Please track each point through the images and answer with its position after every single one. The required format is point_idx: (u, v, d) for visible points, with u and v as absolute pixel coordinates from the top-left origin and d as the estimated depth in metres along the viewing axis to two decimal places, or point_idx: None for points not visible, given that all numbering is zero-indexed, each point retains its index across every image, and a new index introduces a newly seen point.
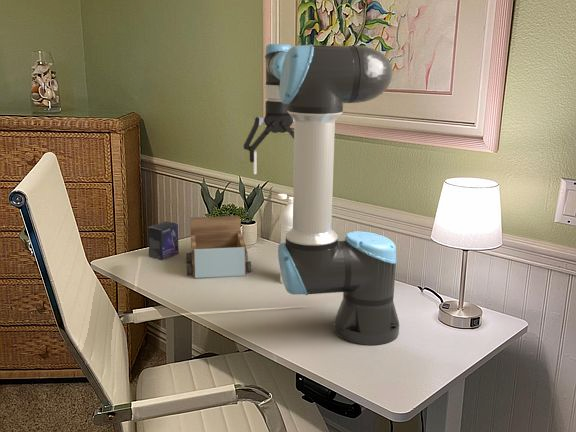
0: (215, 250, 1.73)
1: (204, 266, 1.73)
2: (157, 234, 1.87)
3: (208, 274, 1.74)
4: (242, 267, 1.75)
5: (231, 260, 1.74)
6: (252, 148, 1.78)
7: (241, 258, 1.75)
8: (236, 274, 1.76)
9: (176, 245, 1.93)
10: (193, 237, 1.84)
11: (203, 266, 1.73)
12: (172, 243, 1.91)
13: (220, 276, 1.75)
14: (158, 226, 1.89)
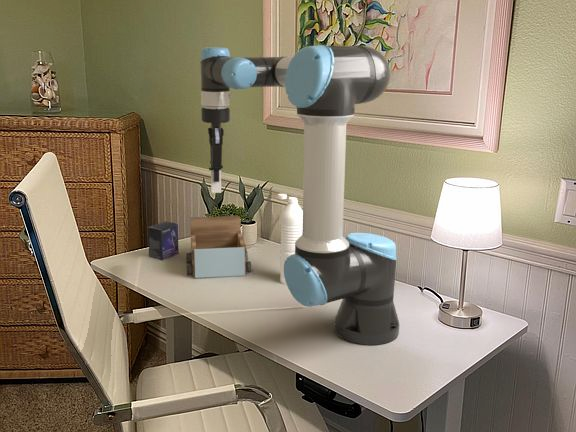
0: (215, 250, 1.73)
1: (204, 266, 1.73)
2: (157, 234, 1.87)
3: (208, 274, 1.74)
4: (242, 267, 1.75)
5: (231, 260, 1.74)
6: (211, 164, 1.72)
7: (241, 258, 1.75)
8: (236, 274, 1.76)
9: (176, 245, 1.93)
10: (193, 237, 1.84)
11: (203, 266, 1.73)
12: (172, 243, 1.91)
13: (220, 276, 1.75)
14: (158, 226, 1.89)
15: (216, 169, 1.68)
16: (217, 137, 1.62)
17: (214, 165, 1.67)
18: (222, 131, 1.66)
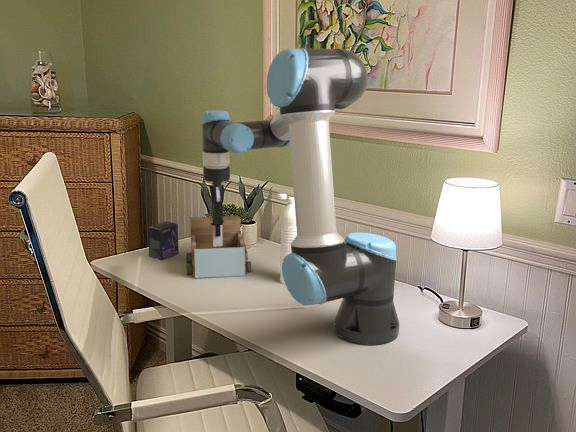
0: (215, 250, 1.73)
1: (204, 266, 1.73)
2: (157, 234, 1.87)
3: (208, 274, 1.74)
4: (242, 267, 1.75)
5: (231, 260, 1.74)
6: None
7: (241, 258, 1.75)
8: (236, 274, 1.76)
9: (176, 245, 1.93)
10: (193, 237, 1.84)
11: (203, 266, 1.73)
12: (172, 243, 1.91)
13: (220, 276, 1.75)
14: (158, 226, 1.89)
15: (217, 225, 1.76)
16: (218, 196, 1.70)
17: (215, 221, 1.75)
18: (223, 189, 1.75)
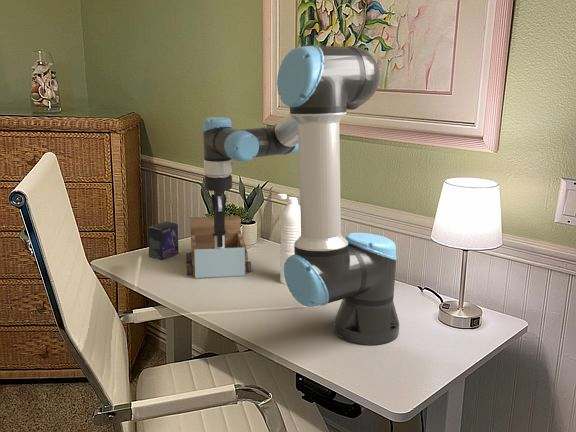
0: (215, 250, 1.73)
1: (204, 266, 1.73)
2: (157, 234, 1.87)
3: (208, 274, 1.74)
4: (242, 267, 1.75)
5: (231, 260, 1.74)
6: None
7: (241, 258, 1.74)
8: (236, 274, 1.76)
9: (176, 245, 1.93)
10: (193, 237, 1.84)
11: (203, 266, 1.73)
12: (172, 243, 1.91)
13: (220, 276, 1.75)
14: (158, 226, 1.89)
15: (219, 235, 1.71)
16: (220, 205, 1.65)
17: (217, 232, 1.69)
18: (225, 198, 1.69)
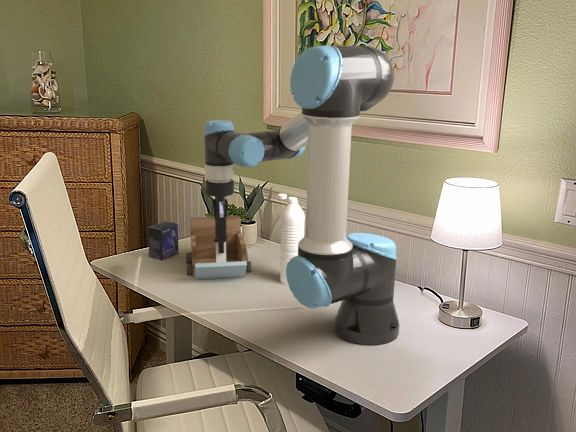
0: (216, 266, 1.68)
1: (204, 274, 1.72)
2: (157, 234, 1.87)
3: (208, 277, 1.74)
4: (242, 273, 1.74)
5: (232, 270, 1.72)
6: None
7: (242, 269, 1.72)
8: (236, 276, 1.75)
9: (176, 245, 1.93)
10: (193, 237, 1.84)
11: (203, 274, 1.71)
12: (172, 243, 1.91)
13: None
14: (158, 226, 1.89)
15: (221, 241, 1.66)
16: (221, 212, 1.60)
17: (218, 238, 1.64)
18: (226, 204, 1.64)
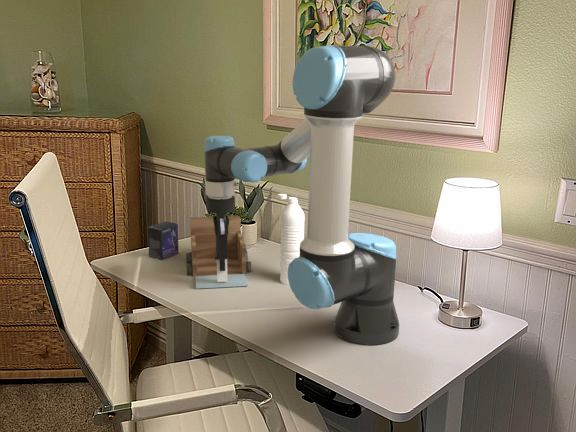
0: (217, 286, 1.68)
1: None
2: (157, 234, 1.87)
3: None
4: None
5: None
6: None
7: None
8: None
9: (176, 245, 1.93)
10: (193, 237, 1.84)
11: None
12: (172, 243, 1.91)
13: None
14: (158, 226, 1.89)
15: (222, 259, 1.63)
16: (222, 228, 1.57)
17: (220, 255, 1.62)
18: (227, 220, 1.61)
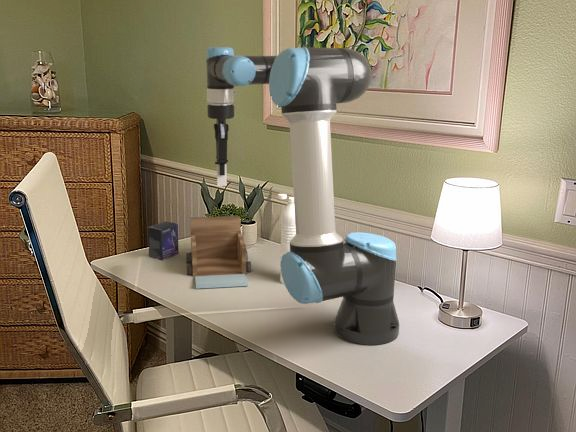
0: None
1: None
2: (157, 234, 1.87)
3: None
4: None
5: None
6: None
7: None
8: None
9: (176, 245, 1.93)
10: (193, 237, 1.84)
11: None
12: (172, 243, 1.91)
13: None
14: (158, 226, 1.89)
15: (222, 163, 1.76)
16: (222, 132, 1.71)
17: (220, 159, 1.75)
18: (227, 127, 1.75)
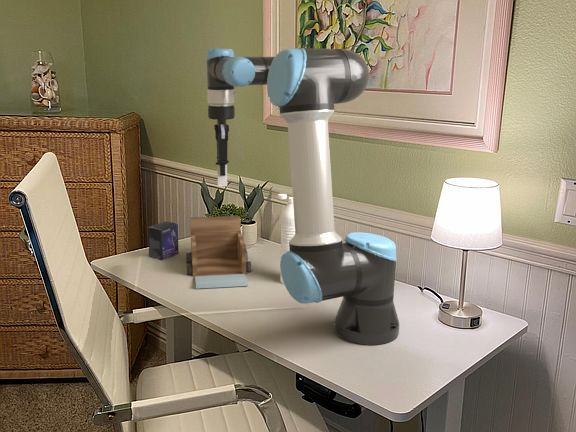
0: None
1: None
2: (157, 234, 1.87)
3: None
4: None
5: None
6: (217, 159, 1.81)
7: None
8: None
9: (176, 245, 1.93)
10: (193, 237, 1.84)
11: None
12: (172, 243, 1.91)
13: None
14: (158, 226, 1.89)
15: (222, 163, 1.77)
16: (223, 132, 1.72)
17: (220, 159, 1.76)
18: (227, 127, 1.76)
